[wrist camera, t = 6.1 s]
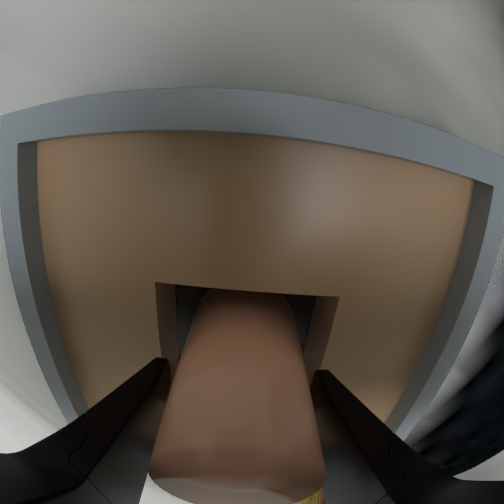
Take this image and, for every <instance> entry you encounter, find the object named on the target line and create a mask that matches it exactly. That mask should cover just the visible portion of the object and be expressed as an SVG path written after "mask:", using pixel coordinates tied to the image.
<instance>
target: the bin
mask: <svg viewBox="0 0 504 504" xmlns="http://www.w3.org/2000/svg"><path fill="white" fill-rule="evenodd" d="M0 205H1V215H2V224H3V232H4V239H5V246H6V252H7V257H8V262H9V267H10V272H11V277H12V281H13V285H14V289H15V293H16V297H17V301H18V304H19V308H20V311H21V315H22V318H23V321H24V324H25V327H26V330H27V333H28V336H29V339H30V342H31V345H32V347H33V350H34V353H35V355H36V358H37V360H38V363H39V365H40V367H41V370H42V372H43V374H44V377H45V379H46V381H47V383H48V386H49V388H50V390H51V392H52V394H53V396H54V398H55V400H56V402H57V404H58V406H59V408H60V410H61V412H62V413H63V415H64V417H65V419H66V421H67V423H68V424H69V423H71V422H72V421H74V420H75V419H76V418H78V417H79V416H80V415H82V414H83V413H86V411H87V410H89V409H90V408H91V407H92V406H94V405H95V404H96V403H98V402H99V401H100V400H102V399H103V398H104V397H106V396H107V395H108V394H109V393H111V392H112V391H113V390H115V389H116V388H117V387H119V386H120V385H121V384H122V383H124V382H125V381H126V380H128V379H129V378H130V377H131V376H133V375H134V374H135V373H136V372H138V371H139V370H140V369H142V368H143V367H144V366H145V365H147V364H148V363H149V362H150V361H152V360H153V359H154V358H156V357H161V358H167V359H168V360H169V362H170V371H171V385H170V389H171V386H172V382H173V379H174V376H175V373H176V369H177V366H178V363H179V351H178V335H177V317H176V291H175V284H178V285H187V286H198V287H208V288H219V289H231V290H243V291H255V292H269V293H283V294H299V295H316V298H315V303H314V308H313V313H312V317H311V322H310V326H309V331H308V335H307V339H306V344H305V348H304V352H303V359H304V364H305V369H306V373H307V378H308V383H309V388H310V384H311V381H312V378H313V375H314V372H315V370H317V369H327V370H329V371H330V372H331V373H332V374H333V375H334V376H335V377H336V378H337V379H338V380H339V381H340V382H341V383H342V384H343V385H344V386H345V387H347V388H348V389H349V390H350V391H351V392H352V393H353V394H354V395H355V396H356V397H357V398H358V399H359V400H360V401H361V402H362V403H363V404H364V405H365V406H366V407H367V408H368V409H369V410H371V411H372V412H373V413H374V414H375V415H376V416H377V417H378V418H379V419H380V420H381V421H382V422H383V423H384V424H385V425H386V426H387V427H389V428H390V429H391V430H392V431H393V433H395V434H396V435H397V436H398V437H399V438H401V439H402V440H403V441H404V440H405V439H406V437H407V436H408V435H409V433H410V432H411V431H412V429H413V428H414V426H415V425H416V424H417V422H418V421H419V419H420V418H421V417H422V415H423V414H424V412H425V411H426V409H427V408H428V406H429V405H430V403H431V401H432V400H433V398H434V397H435V395H436V393H437V392H438V390H439V388H440V387H441V385H442V383H443V382H444V380H445V378H446V376H447V375H448V373H449V371H450V369H451V367H452V366H453V364H454V362H455V360H456V358H457V356H458V354H459V352H460V350H461V348H462V346H463V344H464V342H465V340H466V338H467V335H468V333H469V331H470V329H471V326H472V324H473V322H474V319H475V317H476V315H477V312H478V310H479V307H480V305H481V302H482V299H483V297H484V294H485V291H486V288H487V286H488V283H489V280H490V277H491V274H492V270H493V267H494V264H495V261H496V257H497V254H498V250H499V246H500V242H501V238H502V234H503V230H504V158H503V157H501V156H499V155H497V154H495V153H493V152H491V151H489V150H487V149H485V148H483V147H480V146H478V145H476V144H474V143H471V142H469V141H466V140H464V139H462V138H459V137H457V136H454V135H452V134H449V133H446V132H444V131H441V130H438V129H435V128H433V127H430V126H427V125H424V124H421V123H418V122H415V121H412V120H408V119H405V118H402V117H398V116H395V115H391V114H388V113H384V112H380V111H377V110H373V109H369V108H365V107H360V106H356V105H351V104H347V103H342V102H337V101H332V100H326V99H321V98H315V97H309V96H302V95H295V94H288V93H279V92H270V91H260V90H248V89H232V88H156V89H141V90H129V91H119V92H110V93H102V94H95V95H88V96H82V97H76V98H71V99H66V100H61V101H56V102H51V103H47V104H42V105H38V106H34V107H30V108H27V109H23V110H19V111H16V112H12V113H9V114H6V115H3V116H1V122H0ZM169 392H170V390H169Z"/></svg>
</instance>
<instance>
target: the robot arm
mask: <svg viewBox="0 0 504 504" xmlns="http://www.w3.org/2000/svg"><path fill="white" fill-rule="evenodd" d="M170 385H171V371H170V362H169V360H168V359H167V358H161V357H156V358H154V359H153V360H152V361H150V362H149V363H148V364H147V365H145V366H144V367H143V368H142V369H140V370H139V371H138V372H136V373H135V374H134V375H133V376H131V377H130V378H129V379H128V380H126V381H125V382H124V383H122V384H121V385H120V386H119V387H117V388H116V389H115V390H113V391H112V392H111V393H109V394H108V395H107V396H106V397H104V398H103V399H102V400H100V401H99V402H98V403H96V404H95V405H94V406H92V407H91V408H90V409H89V410H87V411H86V413H83V414H82V415H80V416H79V417H78V418H76V419H75V420H74V421H72V422H71V423H69V424H68V425H66V426H65V427H63V428H62V429H60V430H58V431H57V432H55V433H54V434H52V435H50V436H48V437H46V438H45V439H43V440H41V441H39V442H37V443H35V444H34V445H32V446H30V447H28V448H26V449H24V450H22V451H19V452H16V453H9V454H2V453H0V504H139V501H140V498H141V494H142V491H143V487H144V484H145V481H146V477H147V474H148V466H149V462H150V458H151V454H152V451H153V447H154V444H155V440H156V437H157V433H158V430H159V426H160V423H161V419H162V416H163V412H164V409H165V406H166V402H167V399H168V395H169V390H170ZM310 392H311V397H312V402H313V407H314V412H315V417H316V422H317V427H318V432H319V437H320V442H321V447H322V453H323V458H324V463H325V469H326V474H327V479H326V482H325V484H324V486H323V487H322V488H323V494H324V499H325V504H504V481H470V480H461V479H458V478H455V477H453V476H451V475H449V474H447V473H446V472H444V471H443V470H441V469H440V468H438V467H437V466H436V465H434V464H433V463H431V462H430V461H428V460H427V459H426V458H424V457H423V456H421V455H420V454H419V453H417V452H416V451H415V450H413V449H412V448H411V447H410V446H409V445H407V444H406V443H405V442H404V441H403V440H402V439H401V438H399V437H398V436H397V435H396V434H395V433H393V431H392V430H391V429H390V428H389V427H387V426H386V425H385V424H384V423H383V422H382V421H381V420H380V419H379V418H378V417H377V416H376V415H375V414H374V413H373V412H372V411H371V410H369V409H368V408H367V407H366V406H365V405H364V404H363V403H362V402H361V401H360V400H359V399H358V398H357V397H356V396H355V395H354V394H353V393H352V392H351V391H350V390H349V389H348V388H347V387H345V386H344V385H343V384H342V383H341V382H340V381H339V380H338V379H337V378H336V377H335V376H334V375H333V374H332V373H331V372H330V371H329V370H327V369H317V370H315V372H314V375H313V378H312V381H311V384H310Z"/></svg>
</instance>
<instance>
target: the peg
mask: <svg viewBox="0 0 504 504" xmlns="http://www.w3.org/2000/svg"><path fill="white" fill-rule="evenodd" d="M148 473H149V476H150V477H151V479H152V480H153V481H154V482H155V483H156V484H157V485H158V486H159V487H160V488H162V489H163V490H165V491H166V492H168V493H170V494H171V495H173V496H176V497H178V498H180V499H182V500H185V501H188V502H191V503H194V504H294V503H297V502H299V501H302V500H304V499H306V498H308V497H310V496H312V495H313V494H315V493H316V492H318V491H319V490H320V489H321V488H322V487H323V486H324V484H325V482H326V479H327V474H326V469H325V463H324V458H323V453H322V447H321V442H320V437H319V432H318V427H317V422H316V417H315V412H314V407H313V402H312V397H311V392H310V388H309V383H308V378H307V373H306V369H305V364H304V359H303V355H302V350H301V346H300V341H299V337H298V332H297V328H296V323H295V319H294V315H293V311H292V308H291V306H290V304H289V302H288V300H287V299H286V298H285V297H284V296H283V295H282V294H281V293H269V292H255V291H243V290H231V289H219V288H212V289H210V290H209V291H208V292H207V293H206V294H205V295H204V296H203V297H202V298H201V300H200V301H199V303H198V305H197V308H196V310H195V314H194V317H193V320H192V323H191V326H190V329H189V332H188V335H187V338H186V341H185V344H184V347H183V350H182V353H181V357H180V360H179V363H178V366H177V369H176V373H175V376H174V379H173V382H172V386H171V389H170V392H169V395H168V399H167V402H166V406H165V409H164V412H163V416H162V419H161V423H160V426H159V430H158V433H157V437H156V440H155V444H154V447H153V451H152V454H151V458H150V462H149V466H148Z"/></svg>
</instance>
